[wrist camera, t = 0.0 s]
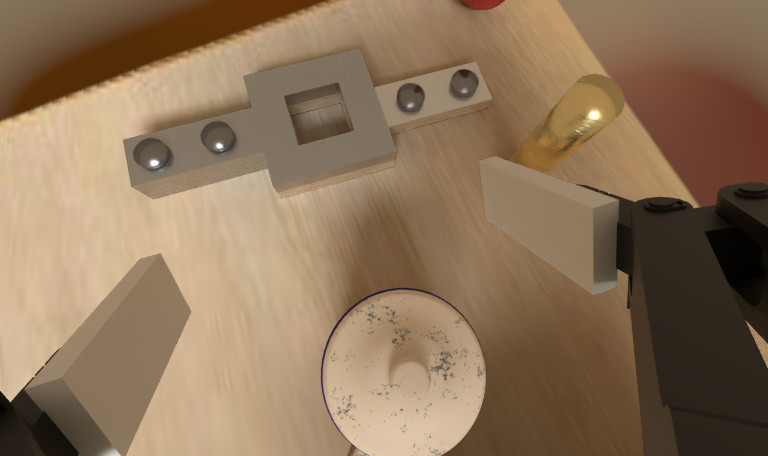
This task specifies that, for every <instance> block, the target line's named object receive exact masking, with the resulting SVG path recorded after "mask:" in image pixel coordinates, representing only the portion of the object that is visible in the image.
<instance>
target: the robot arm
mask: <svg viewBox="0 0 768 456" xmlns="http://www.w3.org/2000/svg"><path fill="white" fill-rule="evenodd" d="M479 169H480V177H481V185H482V192H483V200H484V208H485V216H486V220H487V221H488V222H490V223H491V224H493V225H494V226H495V227H497V228H498V229H500V230H501V231H502V232H504V233H505V234H507V235H508V236H510V237H511V238H512V239H514V240H515V241H517V242H518V243H520V244H521V245H522V246H524V247H525V248H527V249H528V250H530V251H531V252H532V253H534V254H535V255H537V256H538V257H539V258H541V259H542V260H544V261H545V262H547V263H548V264H549V265H551V266H552V267H554V268H555V269H557V270H558V271H559V272H561V273H562V274H564V275H565V276H566V277H568V278H569V279H571V280H572V281H574V282H575V283H576V284H578V285H579V286H581V287H582V288H584V289H585V290H586V291H588V292H589V293H591V294H592V295H596V294H599V293H602V292H605V291H607V290H610V289H613V288H616V287H617V269H619V270H621V271H623V272H624V273H626V274H628V275H629V276H628V300H627V309H630V312H631V322H632V332H633V342H634V353H635V363H636V373H637V384H638V394H639V404H640V414H641V425H642V435H643V445H644V456H768V368H767V366H766V364H765V362H764V360H763V357H762V355H761V353H760V351H759V349H758V347H757V344H756V342H755V340H754V338H753V336H752V334H751V332H750V329H749V327H748V325H747V323H746V321H747V322H748V323H749V324H750V325H751V326H752V327H753V328H754V330H755V331H756V332H757V333H758V334H759V335H760V336H761V337H762V338H763V339H764V340H765V341H766V342H767V343H768V185H765V184H764V183H754V182H750V183H749V182H748V183H745V184H735V185H730V186H726V187H723V188H721V189H720V190H719V192H718V196H717V203H716V205H714V206H708V207H700V208H693V206H692V205H691V204H690V203H688V202H686V201H683V200H681V199H675V198H668V197H654V198H646V199H642V200H638V201H637V202H633V201H630V200H627V199H624V198H621V197H618V196H616V195H613V194H608V193H607V192H604V191H601V190H600V191H599V190H598V189H595V188H592V187H589V186H586V185H578V184H573V183H570V182H567V181H564V180H561V179H558V178H556V177H553V176H550V175H547V174H544V173H541V172H539V171H536V170H533V169H530V168H527V167H524V166H522V165H519V164H516V163H513V162H510V161H507V160H505V159H502V158H499V157H496V156H494V157H490V158H487V159H484V160H480V161H479ZM190 313H191V310H190V308H189V306H188V304H187V303H186V301H185V299H184V297H183V295H182V293H181V291H180V289H179V287H178V285H177V284H176V282H175V280H174V278H173V276H172V274H171V272H170V270H169V268H168V266H167V265H166V263H165V261H164V259H163V257H162V255H161V253H159V254H156V255H153V256H149V257H146V258H142V259H140V260H139V261H138V262H137V263H136V264H135V265H134V266H133V267H132V269H131V270H130V271H129V272H128V273H127V274H126V275H125V276H124V278H123V279H122V280H121V281H120V282H119V283H118V284H117V285H116V287H115V288H114V289H113V290H112V291H111V292H110V293H109V294H108V296H107V297H106V298H105V299H104V300H103V301H102V302H101V303H100V305H99V306H98V307H97V308H96V309H95V310H94V311H93V312H92V314H91V315H90V316H89V317H88V318H87V319H86V320H85V321H84V323H83V324H82V325H81V326H80V327H79V328H78V329H77V330H76V332H75V333H74V334H73V335H72V336H71V337H70V338H69V339H68V341H67V342H66V343H65V344H64V345H63V346H62V347H61V348H60V349H58V350H57V351H56V352H55V353H54V354H53V355H52V356H51V358H50V359H49V360H48V361H47V362H46V363H45V366H43V367H42V368H41V369H40V370H39V371H38V372H37V373H36V374H35V377H33V378H32V379H31V380H30V381H29V382H28V383H27V384H26V386H25V387H24V388H23V389H22V390H21V391H20V392H19V393H18V394H17V396H16V397H15V398H14V399H13V400H12V401H11V402H9V400H8V399H7V398H6V397H5V396H4V395H3V393H2V392H1V391H0V456H78V455H79V456H126V454H127V452H128V449H129V447H130V445H131V443H132V441H133V438H134V436H135V434H136V432H137V430H138V427H139V425H140V423H141V421H142V419H143V416H144V414H145V412H146V410H147V408H148V405H149V403H150V401H151V399H152V397H153V394H154V392H155V390H156V388H157V386H158V383H159V381H160V379H161V377H162V375H163V373H164V370H165V368H166V366H167V364H168V362H169V359H170V357H171V355H172V353H173V351H174V348H175V346H176V344H177V342H178V340H179V337H180V335H181V333H182V331H183V329H184V326H185V324H186V322H187V320H188V318H189V315H190ZM745 320H746V321H745Z"/></svg>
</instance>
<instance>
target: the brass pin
mask: <svg viewBox="0 0 768 456" xmlns="http://www.w3.org/2000/svg"><path fill="white" fill-rule="evenodd" d="M623 107H624V96H623V93H622V91H621V89H620V87H619V86H618V85H617V84H616V83H615V82H614V81H613V80H611V79H609V78H607V77H605V76H602V75H597V74H591V75H586V76H584V77H582V78H580V79H579V80H578V81H577V82H576V83H575V84H574V85H573V87H572V88H571V89H570V90H569V91H568V92H567V93H566V95H565V96H564V97H563V98H562V99H561V100H560V101H559V103H558V104H557V105H556V106H555V107H554V108H553V109H552V110H551V112H550V113H549V114H548V115H547V116H546V117H545V118H544V120H543V121H542V122H541V123H540V124H539V125H538V126H537V128H536V129H535V130H534V131H533V132H532V133H531V134H530V136H529V137H528V138H527V139H526V140H525V141H524V142H523V144H522V145H521V146H520V147H519V148H518V149H517V150H516V152H515V153H514V154H513V155H512V156H511V157H510V158H509V160H508V161H510V162H513V163H516V164H519V165H522V166H524V167H527V168H530V169H533V170H536V171H539V172H541V173H544V174H548V173H549V172H550V171H551V170H552V169H554V168H555V167H556V166H557V165H559V164H560V163H561V162H562V161H563V160H565V159H566V158H567V157H568V156H570V155H571V154H572V153H573V152H574V151H576V150H577V149H578V148H579V147H581V146H582V145H583V144H584V143H585V142H587V141H588V140H589V139H590V138H592V137H593V136H594V135H595V134H596V133H598V132H599V131H600V130H601V129H603V128H604V127H605V126H606V125H607V124H609V123H610V122H611V121H612V120H614V119H615V118H616V117H617V116H618V115H619V114H620V113H621V112H622V110H623Z"/></svg>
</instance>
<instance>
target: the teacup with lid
mask: <svg viewBox="0 0 768 456" xmlns="http://www.w3.org/2000/svg"><path fill="white" fill-rule="evenodd" d="M321 386H322V392H323V397H324V401H325V404H326V407H327V410H328V412H329V415H330V417H331V419H332V421H333V422H334V424H335V426H336V427H337V429H338V430H339V431H340V433H341V434H342V435H343V436H344V437H345V438H346V440H347V441H348V442H350V443H351V445H350V448H349V451H348V454H347V456H440V455H442V454H444V453H446V452H447V451H449V450H450V449H452V448H453V447H454V446H455V445H456V444H458V443H459V442H460V441H461V440H462V439H463V438H464V436H465V435H466V434H467V433H468V431H469V430H470V428H471V427H472V425H473V424H474V422H475V420H476V418H477V416H478V414H479V411H480V409H481V406H482V402H483V398H484V394H485V386H486V367H485V360H484V355H483V351H482V348H481V345H480V342H479V340H478V338H477V336H476V334H475V332H474V330H473V328H472V327H471V325H470V324H469V322H468V321H467V320H466V319H465V317H464V316H463V315H462V314H461V313H460V312H459V311H458V310H457V309H456V308H455V307H453V306H452V305H451V304H450V303H448V302H447V301H445V300H444V299H442V298H440V297H438V296H436V295H434V294H431V293H429V292H426V291H422V290H418V289H411V288H395V289H388V290H383V291H380V292H377V293H374V294H372V295H370V296H368V297H366V298H364V299H362V300H361V301H359V302H358V303H356V304H355V305H354V306H353V307H351V308H350V309H349V310H348V311H347V312H346V313H345V314H344V315H343V316H342V318H341V319H340V320H339V321H338V323H337V324H336V326H335V327H334V329H333V331H332V333H331V334H330V337H329V339H328V341H327V344H326V347H325V350H324V354H323V359H322V366H321Z"/></svg>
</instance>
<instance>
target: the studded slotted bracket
mask: <svg viewBox="0 0 768 456" xmlns="http://www.w3.org/2000/svg"><path fill="white" fill-rule="evenodd" d="M243 77H244V81H245V84H246V88H247V92H248V96H249V99H250V103H251V108H247V109H243V110H239V111H235V112H231V113H227V114H223V115H219V116H215V117H212V118H208V119H204V120H200V121H196V122H192V123H188V124H184V125H180V126H176V127H172V128H168V129H164V130H160V131H156V132H152V133H148V134H144V135H140V136H136V137H132V138H128V139H124V140H123V143H124V148H125V154H126V159H127V165H128V171H129V176H130V182H131V187H133V188H135V189H136V190H138V191H140V192H142V193H143V194H145V195H147V196H148V197H150V198H152V199H157V198H160V197H164V196H168V195H171V194H175V193H179V192H182V191H186V190H190V189H193V188H197V187H201V186H204V185H208V184H212V183H215V182H219V181H223V180H226V179H230V178H234V177H237V176H241V175H245V174H248V173H252V172H256V171H259V170H263V169H267V168H268V170H269V174H270V177H271V181H272V185H273V187H274V188H275V190H276V191H277V193H278V194H279V196H280V197H281V199H282V198H286V197H289V196H293V195H296V194H300V193H303V192H307V191H310V190H314V189H317V188H321V187H324V186H328V185H331V184H335V183H338V182H342V181H345V180H349V179H353V178H356V177H360V176H363V175H367V174H370V173H374V172H377V171H381V170H384V169H388V168H391V167H394V166H395V160H396V155H397V150H396V147H395V144H394V141H393V138H392V136H391V134H395V133H399V132H402V131H406V130H410V129H413V128H417V127H421V126H424V125H428V124H432V123H435V122H439V121H443V120H446V119H450V118H454V117H457V116H461V115H465V114H468V113H472V112H476V111H479V110H483V109H487V108H488V106H489V104H490V102H491V101H492V97H491V94H490V92H489V90H488V87H487V85H486V83H485V81H484V78H483V76H482V74H481V71H480V69H479V67H478V64H477V62H476V61H475V62H471V63H467V64H463V65H460V66H456V67H452V68H448V69H444V70H440V71H436V72H432V73H428V74H424V75H420V76H417V77H413V78H409V79H405V80H401V81H397V82H393V83H389V84H385V85H381V86H377V87H374V85H373V82H372V80H371V77H370V74H369V71H368V68H367V66H366V63H365V60H364V57H363V54H362V52H361V49H360V48H357V49H353V50H349V51H345V52H341V53H337V54H332V55H328V56H324V57H320V58H316V59H312V60H308V61H303V62H299V63H295V64H291V65H287V66H283V67H279V68H274V69H270V70H266V71H262V72H258V73H254V74H250V75H246V76H243ZM338 103H341V105H342V108H343V111H344V114H345V117H346V120H347V123H348V126H349V129H350V132H347V133H344V134H340V135H336V136H332V137H329V138H325V139H321V140H318V141H314V142H310V143H306V144H303V145H299V141H298V138H297V134H296V131H295V128H294V124H293V121H292V117H291V115H295V114H299V113H303V112H307V111H311V110H315V109H319V108H322V107H326V106H330V105H334V104H338Z"/></svg>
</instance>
